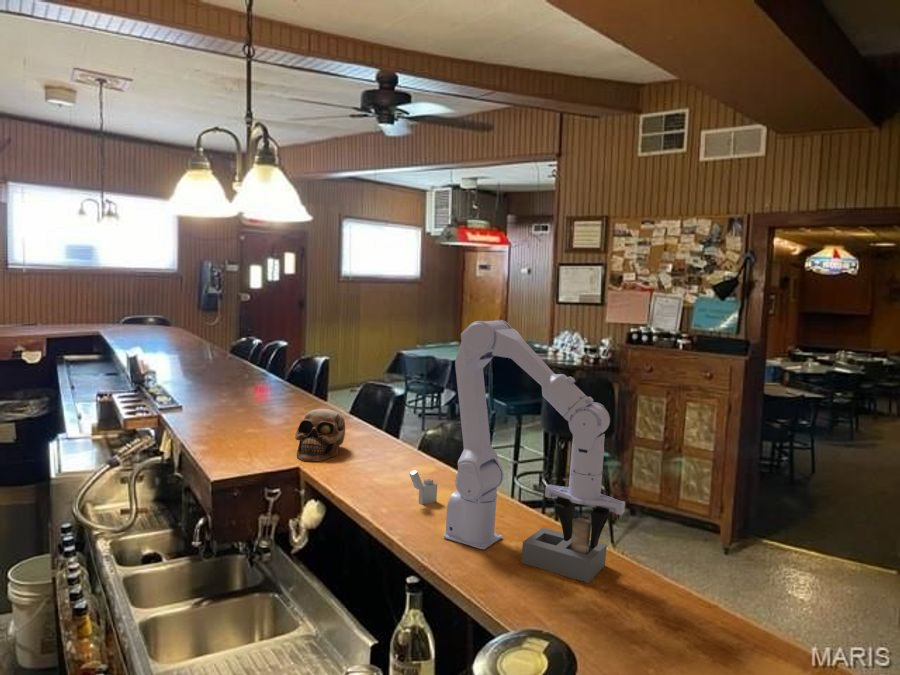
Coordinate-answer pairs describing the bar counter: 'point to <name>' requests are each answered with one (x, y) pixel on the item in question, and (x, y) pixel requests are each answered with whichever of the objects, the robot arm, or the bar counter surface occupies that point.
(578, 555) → the socket block
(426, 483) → the lighter
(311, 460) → the brown skull
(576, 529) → the dowel
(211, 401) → the bar counter surface
